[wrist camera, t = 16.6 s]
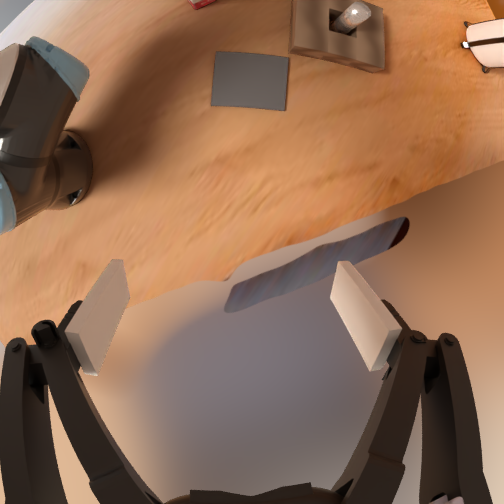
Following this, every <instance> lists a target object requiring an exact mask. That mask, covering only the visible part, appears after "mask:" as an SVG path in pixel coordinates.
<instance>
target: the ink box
mask: <svg viewBox="0 0 504 504" xmlns="http://www.w3.org/2000/svg"><path fill="white" fill-rule="evenodd" d="M188 1H189V3H190V4H191V5H192V6H193V8H194V9H196V10H197V9H199V8H201V7H203V6H205V5H208V4H210V3H212V2H214V1H216V0H188Z"/></svg>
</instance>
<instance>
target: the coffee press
mask: <svg viewBox="0 0 504 504" xmlns="http://www.w3.org/2000/svg"><path fill="white" fill-rule="evenodd" d="M467 23H469V24H472V23H470V22H466V21H465V22H464V25H465V26H466V27H468V28H467V31H466V36H467V41H468V42H464V43H461V46H462V48H470V49H471V51H472V52H473V54H474V56H475V57H476V58H477V60H478V61H479V62H480V63H481V64H483V68H482V71H483V72H484V73H488V72H489V71H490V69H493V68H488V69H487V71H485V67H496V68H504V18H501V19H495V20H489V21H484V22H480V23H475V24H472V25H471V26H468V25H467Z"/></svg>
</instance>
